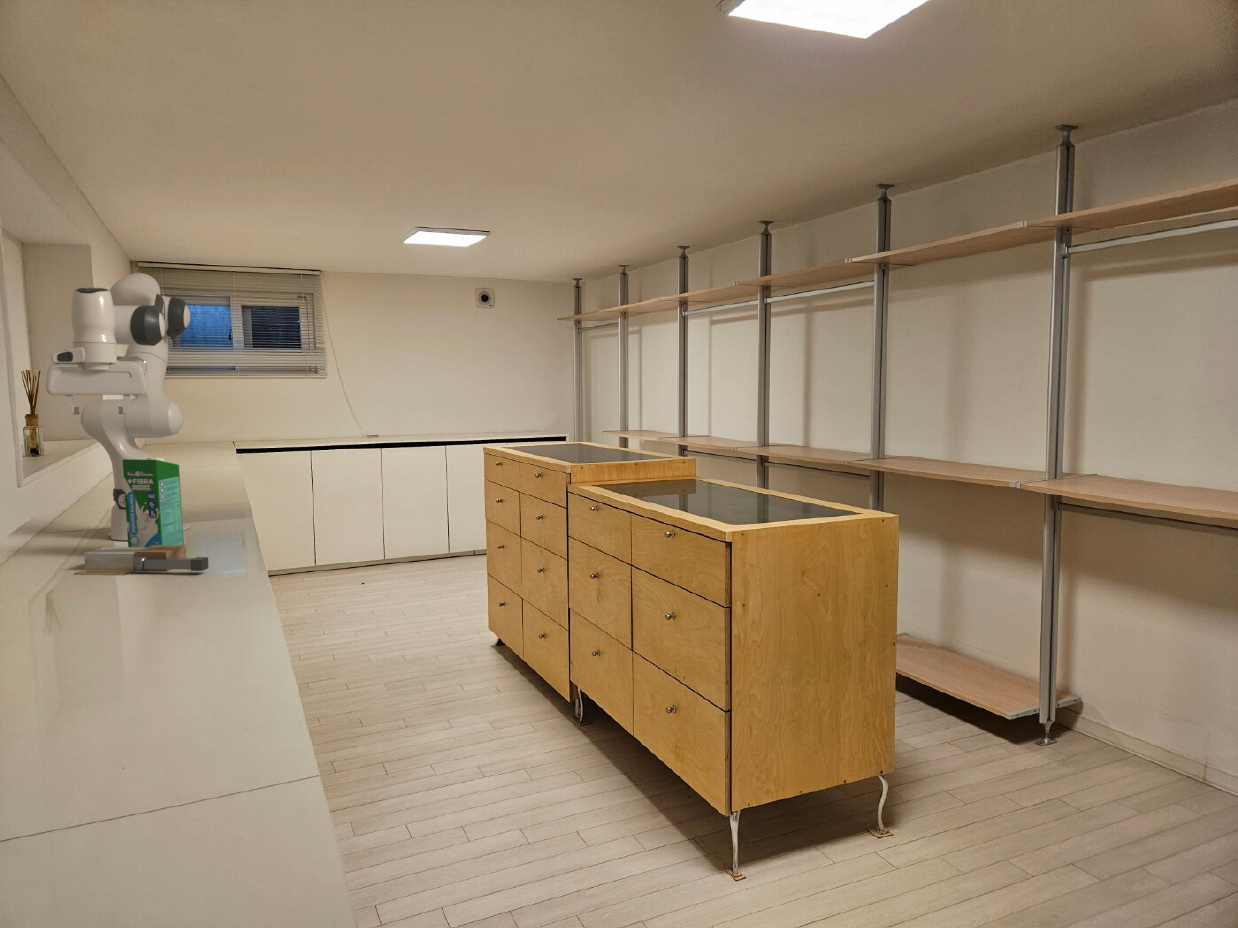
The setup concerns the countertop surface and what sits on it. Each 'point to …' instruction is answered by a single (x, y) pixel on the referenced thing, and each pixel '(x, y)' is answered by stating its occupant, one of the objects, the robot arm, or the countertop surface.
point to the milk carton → (152, 502)
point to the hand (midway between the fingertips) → (99, 414)
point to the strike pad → (105, 571)
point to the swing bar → (170, 563)
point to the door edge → (130, 556)
